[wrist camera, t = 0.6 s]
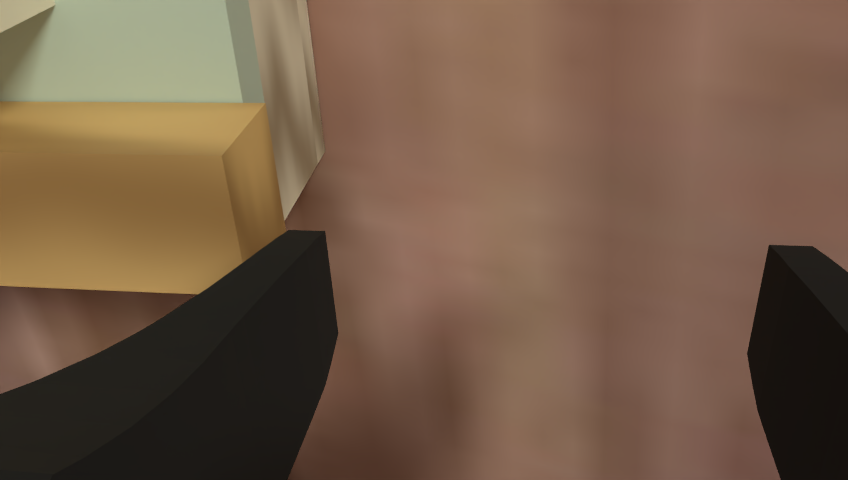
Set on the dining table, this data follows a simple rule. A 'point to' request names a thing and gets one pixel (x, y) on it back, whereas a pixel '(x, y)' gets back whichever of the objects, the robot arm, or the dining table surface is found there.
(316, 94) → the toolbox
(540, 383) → the dining table surface
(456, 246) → the dining table surface
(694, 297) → the dining table surface
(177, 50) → the lid
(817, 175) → the dining table surface
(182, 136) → the golden block
